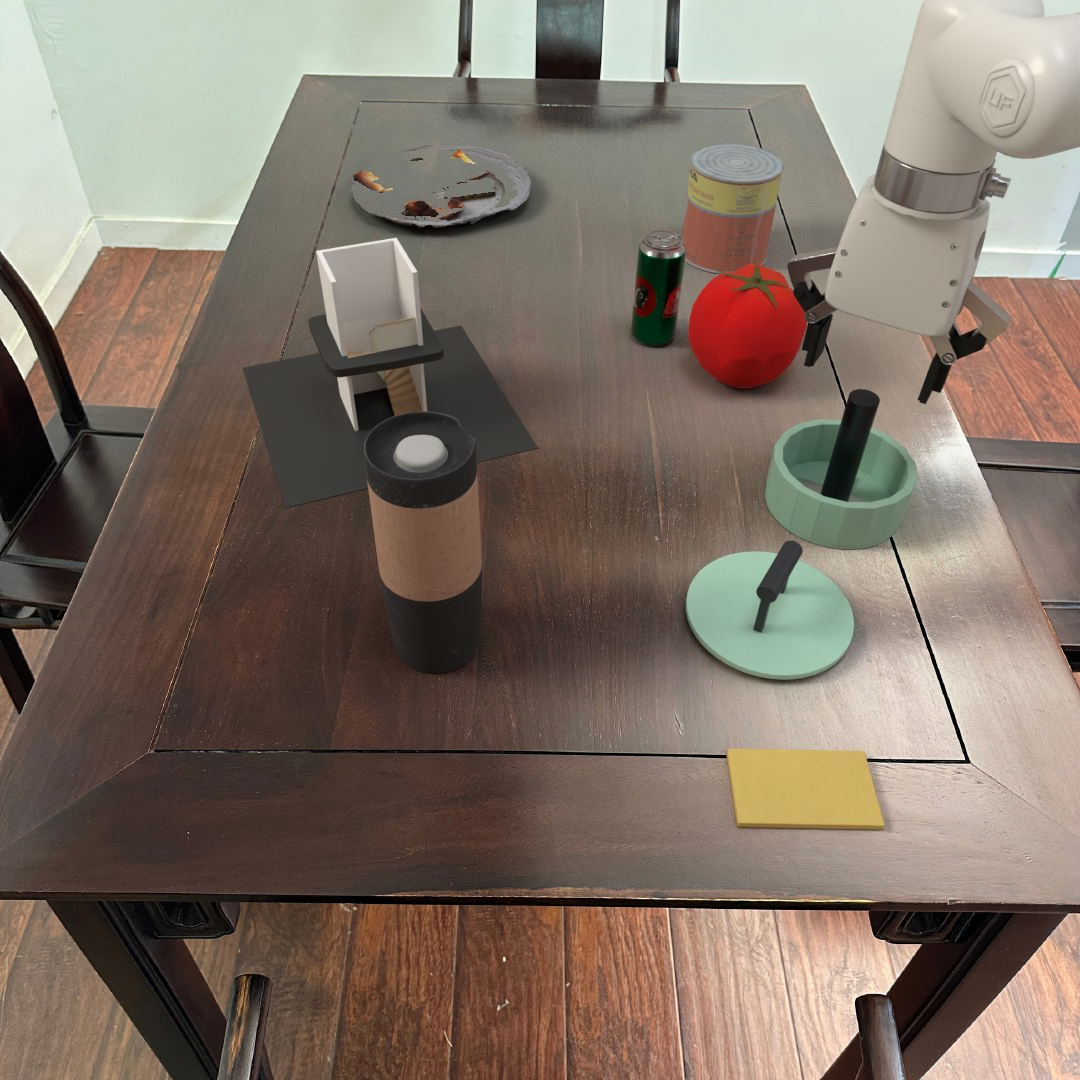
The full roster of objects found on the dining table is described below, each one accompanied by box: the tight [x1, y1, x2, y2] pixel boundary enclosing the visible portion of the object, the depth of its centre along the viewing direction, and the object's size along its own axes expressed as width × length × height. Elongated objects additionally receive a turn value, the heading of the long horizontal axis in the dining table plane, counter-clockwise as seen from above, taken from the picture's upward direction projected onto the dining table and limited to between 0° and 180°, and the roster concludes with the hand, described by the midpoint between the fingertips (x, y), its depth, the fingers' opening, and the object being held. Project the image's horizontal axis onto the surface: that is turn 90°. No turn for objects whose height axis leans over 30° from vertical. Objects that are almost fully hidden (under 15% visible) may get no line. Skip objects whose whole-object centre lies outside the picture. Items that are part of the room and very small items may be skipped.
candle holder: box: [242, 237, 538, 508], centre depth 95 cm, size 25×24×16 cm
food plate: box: [352, 144, 532, 229], centre depth 135 cm, size 25×23×4 cm
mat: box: [726, 748, 885, 831], centre depth 68 cm, size 10×6×1 cm, turn 89°
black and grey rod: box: [797, 388, 881, 502], centre depth 86 cm, size 8×8×12 cm
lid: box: [685, 540, 855, 681], centre depth 78 cm, size 14×14×6 cm
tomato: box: [687, 264, 808, 389], centre depth 102 cm, size 12×13×12 cm
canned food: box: [681, 142, 785, 275], centre depth 121 cm, size 11×11×12 cm
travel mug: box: [364, 411, 483, 674], centre depth 71 cm, size 8×8×20 cm
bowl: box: [764, 418, 919, 550], centre depth 89 cm, size 13×13×5 cm
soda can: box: [630, 229, 686, 347], centre depth 107 cm, size 5×5×12 cm
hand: (868, 376), depth 81 cm, fingers open, 9 cm apart
